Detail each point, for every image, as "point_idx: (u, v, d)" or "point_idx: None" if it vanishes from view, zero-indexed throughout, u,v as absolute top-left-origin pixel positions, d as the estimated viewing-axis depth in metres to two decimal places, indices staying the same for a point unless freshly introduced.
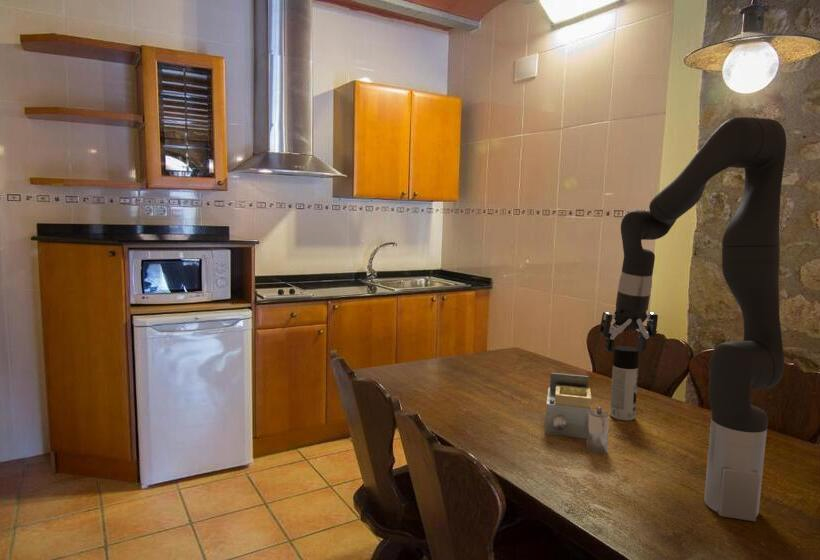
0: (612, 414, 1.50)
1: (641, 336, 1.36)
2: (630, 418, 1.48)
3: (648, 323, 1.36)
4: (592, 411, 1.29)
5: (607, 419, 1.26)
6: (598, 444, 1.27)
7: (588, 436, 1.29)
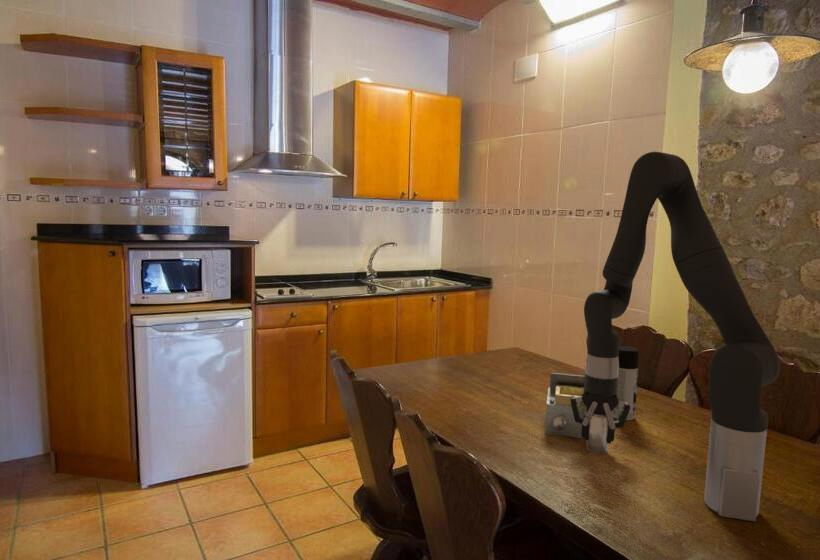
0: (612, 414, 1.50)
1: (609, 426, 1.28)
2: (630, 418, 1.48)
3: None
4: None
5: (607, 419, 1.26)
6: (598, 443, 1.27)
7: (588, 436, 1.29)
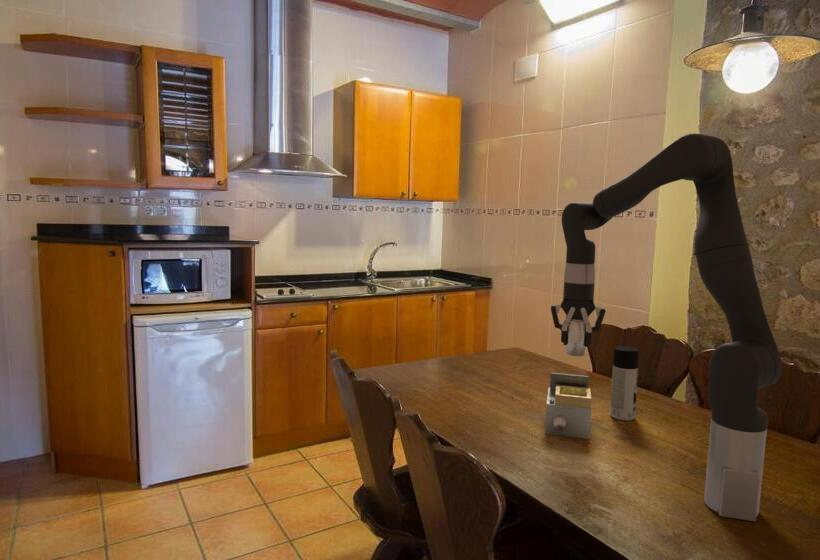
0: (612, 414, 1.50)
1: None
2: (630, 418, 1.48)
3: (597, 318, 1.37)
4: None
5: (584, 323, 1.36)
6: (576, 346, 1.36)
7: (567, 341, 1.38)
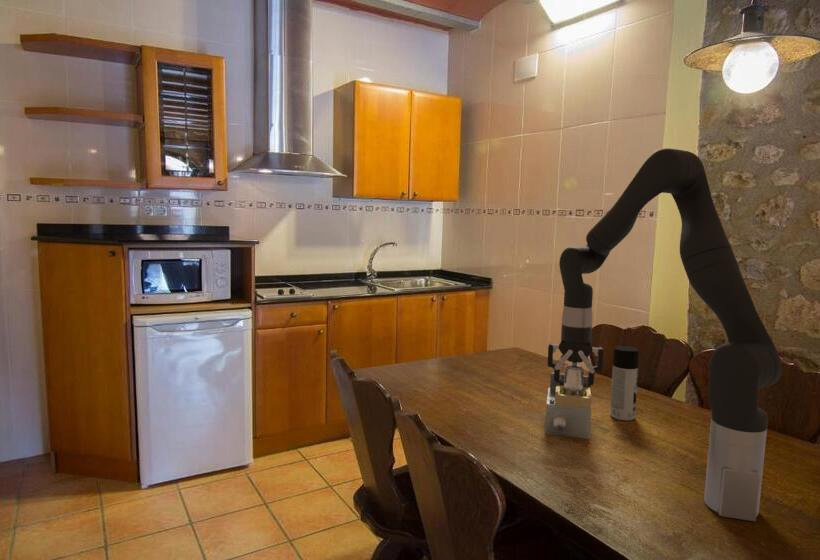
0: (612, 414, 1.50)
1: (589, 370, 1.38)
2: (630, 418, 1.48)
3: (597, 358, 1.38)
4: (568, 365, 1.40)
5: (581, 371, 1.37)
6: (573, 394, 1.38)
7: (564, 387, 1.40)
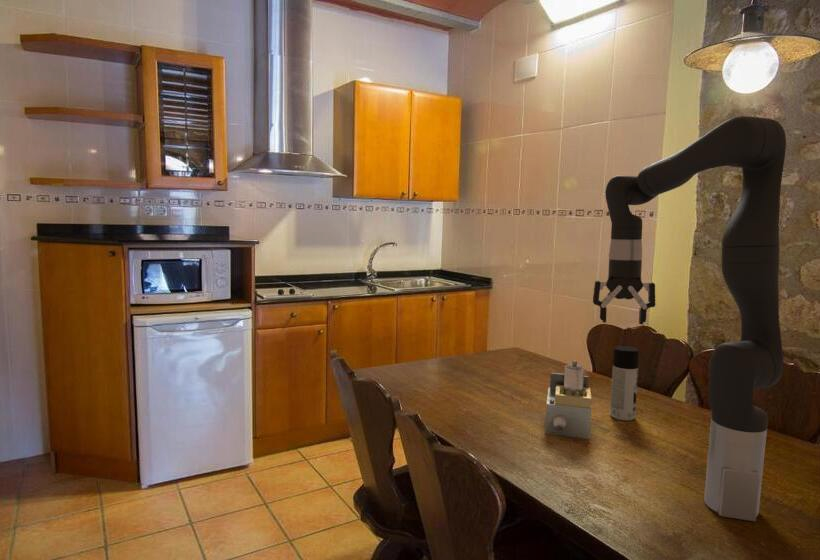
0: (612, 414, 1.50)
1: (640, 307, 1.31)
2: (630, 418, 1.48)
3: (648, 294, 1.30)
4: (568, 365, 1.40)
5: (581, 371, 1.37)
6: (573, 394, 1.38)
7: (564, 387, 1.40)
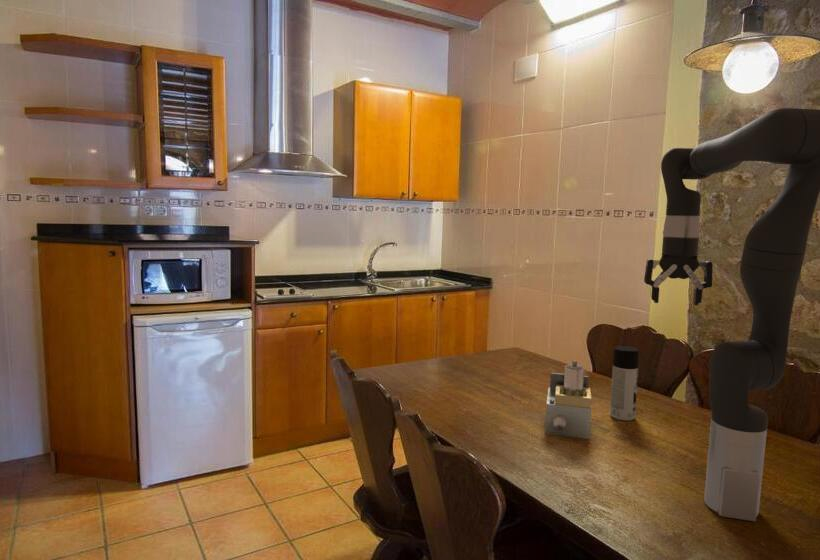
0: (612, 414, 1.50)
1: (695, 287, 1.24)
2: (630, 418, 1.48)
3: (704, 273, 1.24)
4: (568, 365, 1.40)
5: (581, 371, 1.37)
6: (573, 394, 1.38)
7: (564, 387, 1.40)
